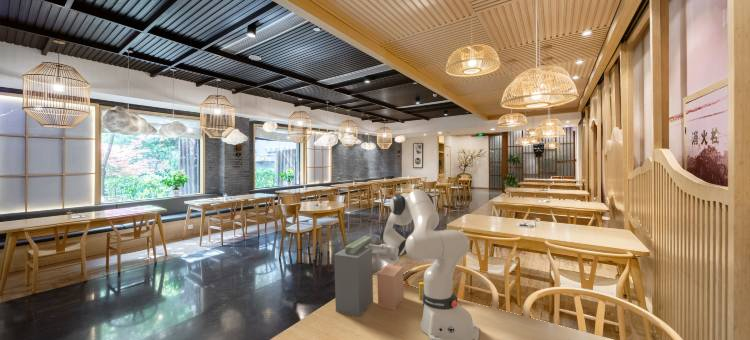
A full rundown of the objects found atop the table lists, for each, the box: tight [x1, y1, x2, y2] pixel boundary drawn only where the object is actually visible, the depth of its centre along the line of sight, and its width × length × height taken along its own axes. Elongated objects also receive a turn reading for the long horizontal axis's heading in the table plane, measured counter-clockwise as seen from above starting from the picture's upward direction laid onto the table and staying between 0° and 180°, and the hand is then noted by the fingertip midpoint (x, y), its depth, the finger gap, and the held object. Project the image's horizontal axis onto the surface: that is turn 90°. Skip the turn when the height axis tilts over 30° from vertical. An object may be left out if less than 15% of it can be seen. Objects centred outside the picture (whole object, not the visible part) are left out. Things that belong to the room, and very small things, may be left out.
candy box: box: [418, 281, 454, 301], centre depth 135 cm, size 16×2×8 cm, turn 88°
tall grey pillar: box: [333, 247, 374, 318], centre depth 130 cm, size 12×14×26 cm
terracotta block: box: [376, 263, 405, 311], centre depth 133 cm, size 8×12×16 cm, turn 155°
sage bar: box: [344, 235, 373, 254], centre depth 134 cm, size 4×19×3 cm, turn 155°
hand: (374, 246), depth 150 cm, fingers open, 8 cm apart
